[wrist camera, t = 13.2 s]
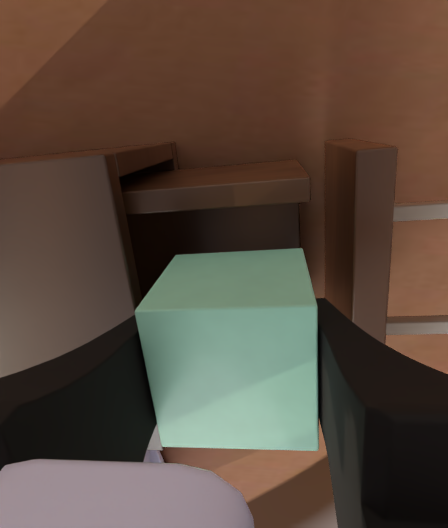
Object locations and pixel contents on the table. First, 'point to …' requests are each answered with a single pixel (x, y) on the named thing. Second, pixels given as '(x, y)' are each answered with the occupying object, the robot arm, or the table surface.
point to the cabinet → (68, 251)
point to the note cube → (233, 351)
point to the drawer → (285, 223)
